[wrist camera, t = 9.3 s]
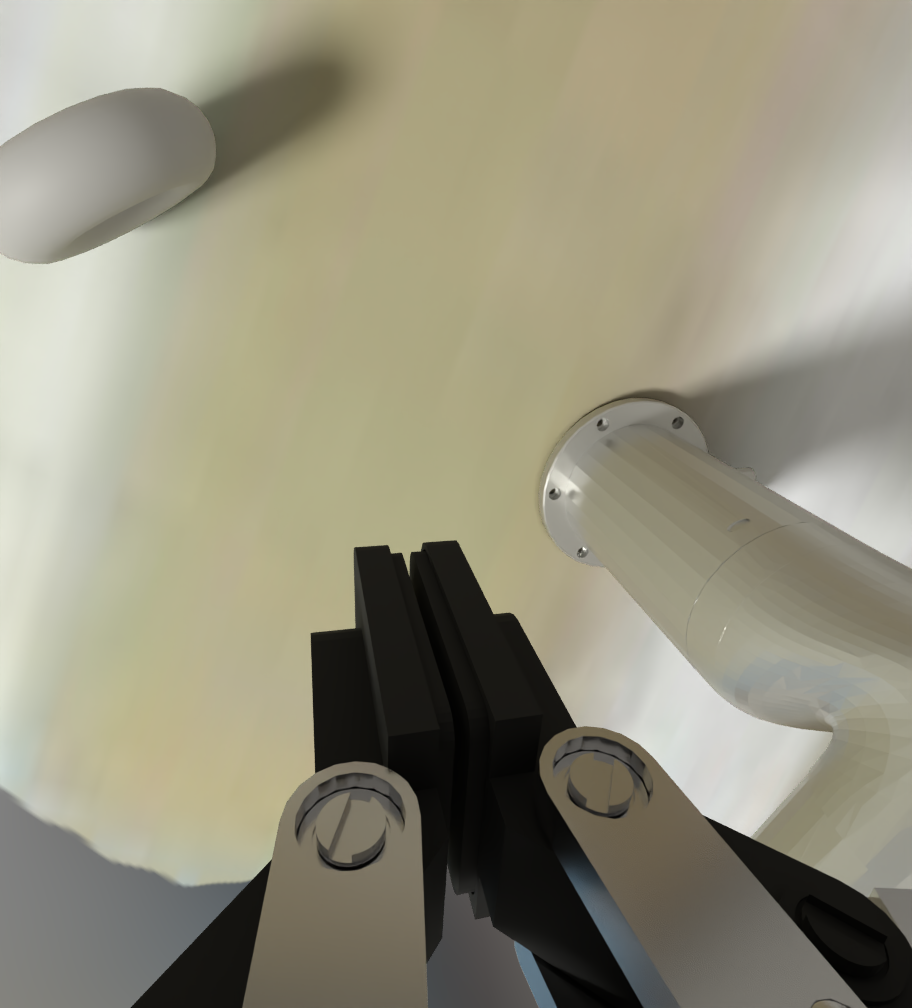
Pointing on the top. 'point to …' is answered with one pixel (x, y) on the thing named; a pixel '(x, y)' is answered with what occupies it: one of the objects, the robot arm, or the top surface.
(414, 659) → the robot arm
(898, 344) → the top surface
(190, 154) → the donut
